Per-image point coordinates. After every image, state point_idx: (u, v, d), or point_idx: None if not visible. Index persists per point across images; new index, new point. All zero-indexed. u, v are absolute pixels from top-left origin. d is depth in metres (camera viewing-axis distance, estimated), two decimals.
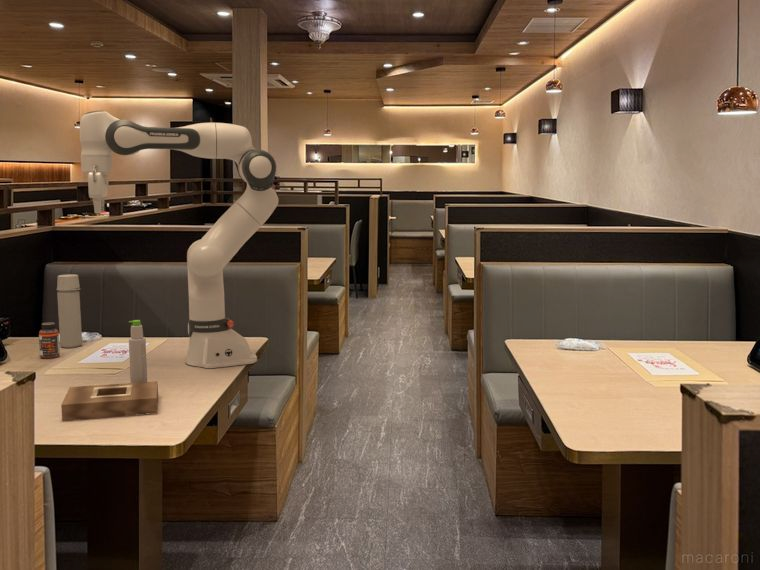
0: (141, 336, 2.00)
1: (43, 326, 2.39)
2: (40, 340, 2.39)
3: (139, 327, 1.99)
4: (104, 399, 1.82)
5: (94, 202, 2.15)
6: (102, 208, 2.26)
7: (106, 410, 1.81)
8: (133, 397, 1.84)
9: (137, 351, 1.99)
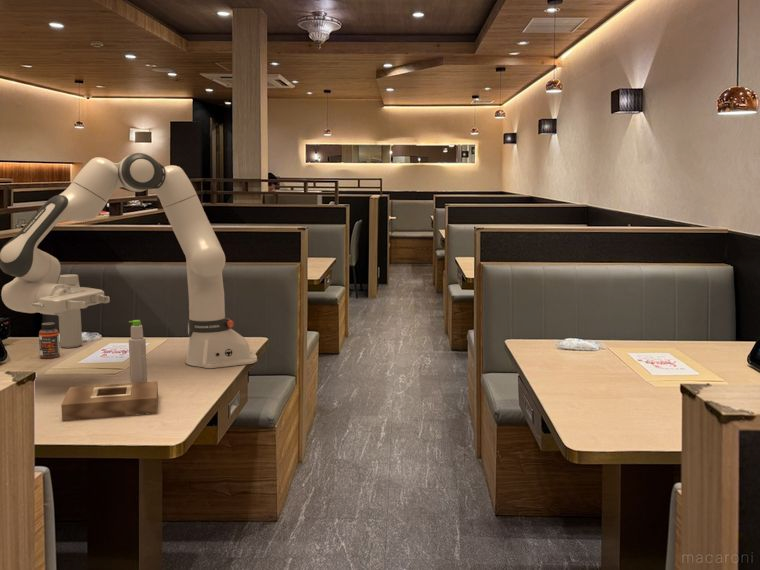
0: (141, 336, 2.00)
1: (43, 326, 2.39)
2: (40, 340, 2.39)
3: (139, 327, 1.99)
4: (104, 399, 1.82)
5: (71, 307, 1.98)
6: (102, 298, 2.07)
7: (106, 410, 1.81)
8: (133, 397, 1.84)
9: (137, 351, 1.99)
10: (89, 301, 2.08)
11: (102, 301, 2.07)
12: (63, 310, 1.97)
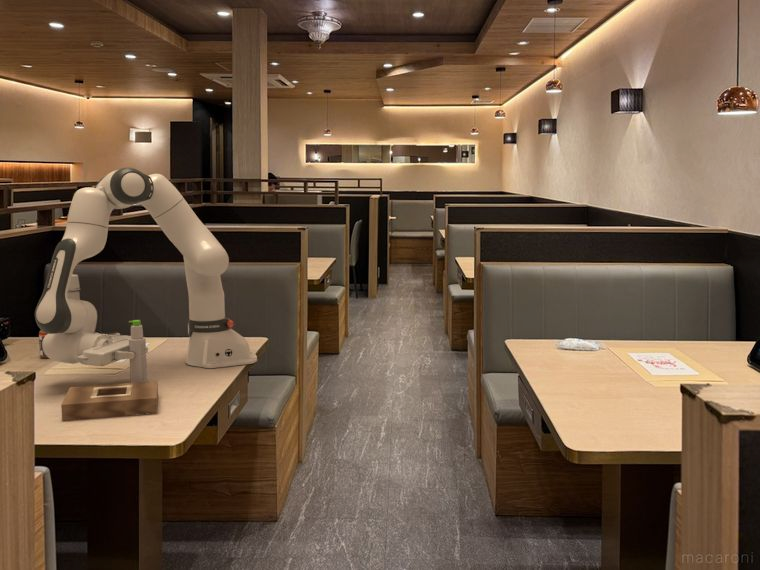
0: (141, 336, 2.00)
1: None
2: (40, 340, 2.39)
3: (139, 327, 1.99)
4: (104, 399, 1.82)
5: (120, 358, 1.98)
6: None
7: (106, 410, 1.81)
8: (133, 397, 1.84)
9: (137, 351, 1.99)
10: None
11: None
12: (107, 363, 1.95)
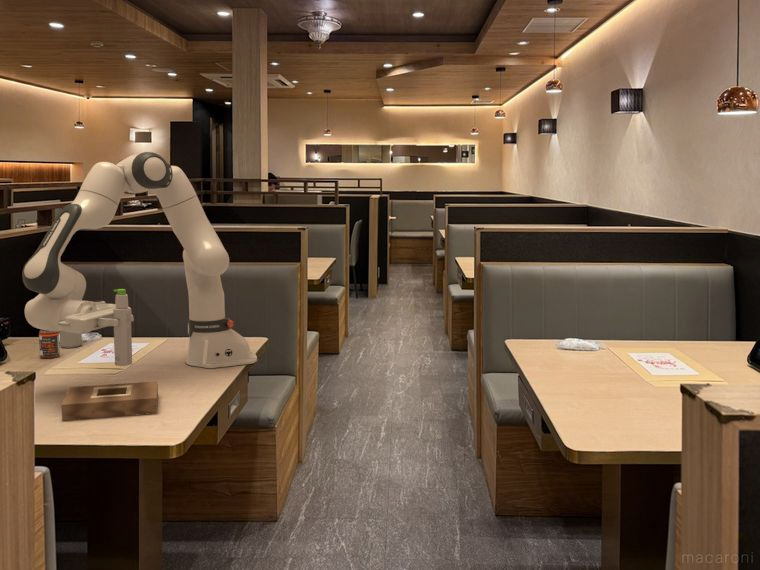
0: (126, 306, 1.93)
1: None
2: (40, 340, 2.39)
3: (124, 296, 1.92)
4: (104, 399, 1.82)
5: (103, 325, 1.90)
6: None
7: (106, 410, 1.81)
8: (133, 397, 1.84)
9: (121, 321, 1.92)
10: None
11: None
12: (90, 329, 1.87)
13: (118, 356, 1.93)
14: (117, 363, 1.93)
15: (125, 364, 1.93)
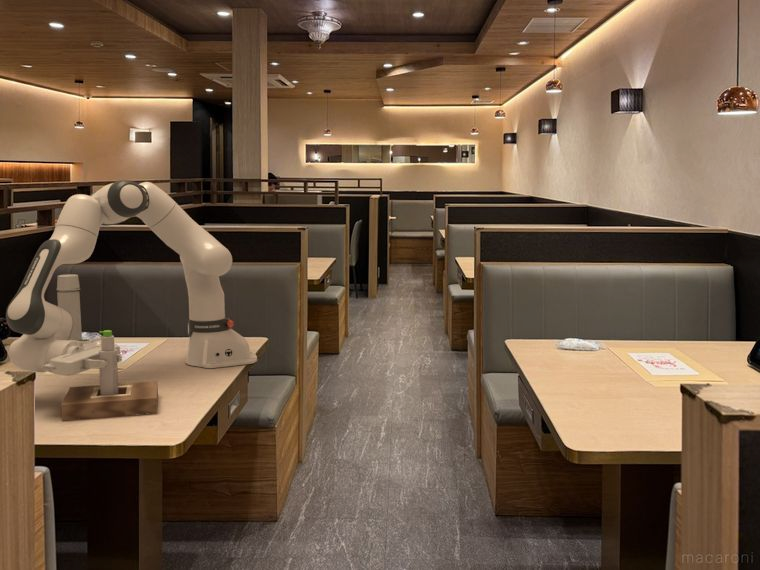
0: (112, 348, 1.86)
1: None
2: None
3: (111, 338, 1.86)
4: (104, 399, 1.82)
5: (90, 367, 1.84)
6: None
7: (106, 410, 1.81)
8: (133, 397, 1.84)
9: (108, 363, 1.85)
10: None
11: None
12: (77, 372, 1.81)
13: None
14: None
15: None
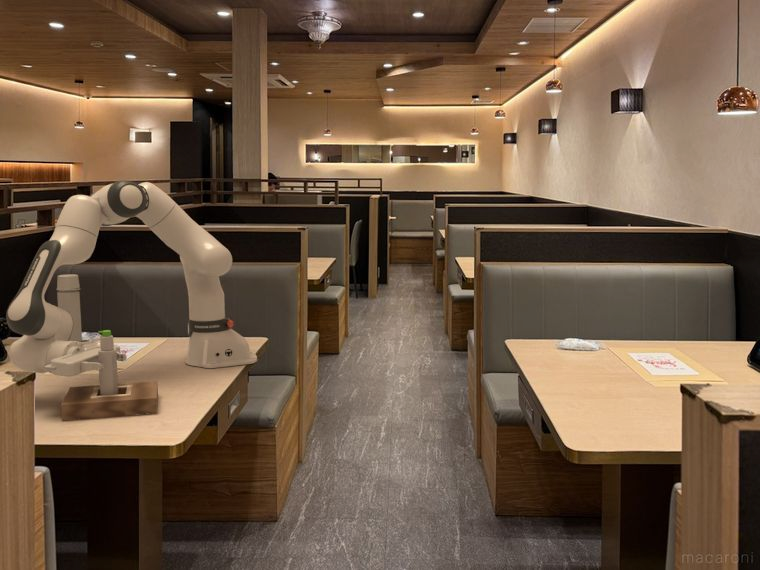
0: (112, 347, 1.86)
1: None
2: None
3: (110, 338, 1.86)
4: (104, 399, 1.82)
5: (86, 369, 1.82)
6: (119, 355, 1.91)
7: (106, 410, 1.81)
8: (133, 397, 1.84)
9: (107, 363, 1.85)
10: None
11: (118, 359, 1.91)
12: (77, 373, 1.81)
13: None
14: None
15: None
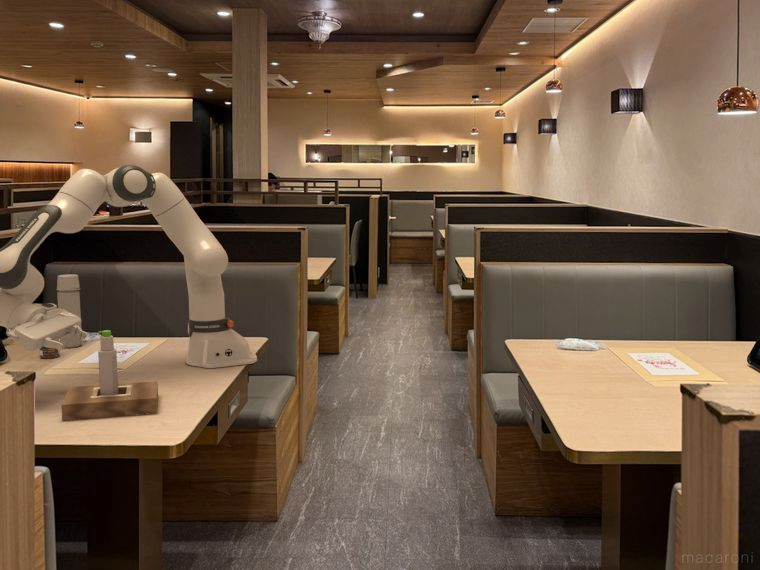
0: (112, 347, 1.86)
1: None
2: None
3: (110, 338, 1.86)
4: (104, 399, 1.82)
5: (47, 346, 1.88)
6: (80, 333, 1.97)
7: (106, 410, 1.81)
8: (133, 397, 1.84)
9: (107, 363, 1.85)
10: (65, 331, 1.98)
11: (79, 336, 1.97)
12: (38, 347, 1.87)
13: None
14: None
15: None
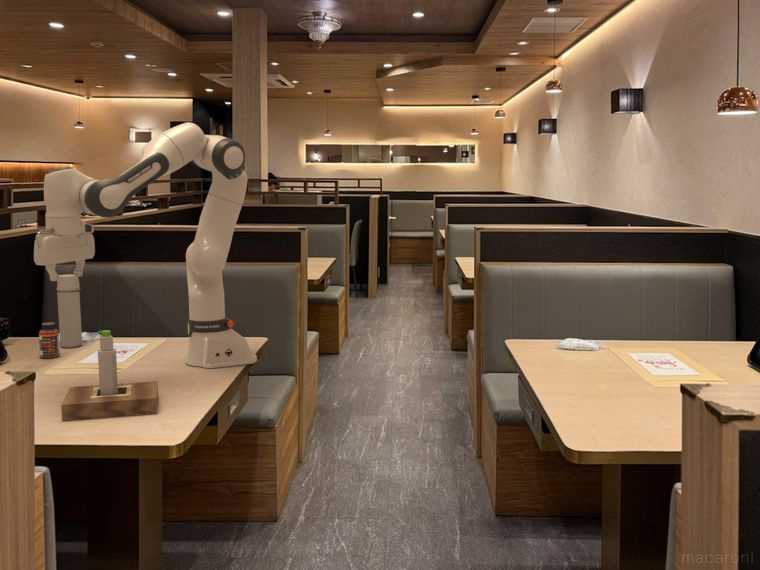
0: (111, 347, 1.86)
1: (43, 326, 2.39)
2: (40, 340, 2.39)
3: (109, 338, 1.86)
4: (104, 399, 1.82)
5: (47, 269, 1.95)
6: (78, 272, 2.05)
7: (106, 410, 1.81)
8: (133, 397, 1.84)
9: (107, 363, 1.85)
10: None
11: (75, 271, 2.05)
12: None
13: None
14: None
15: None
